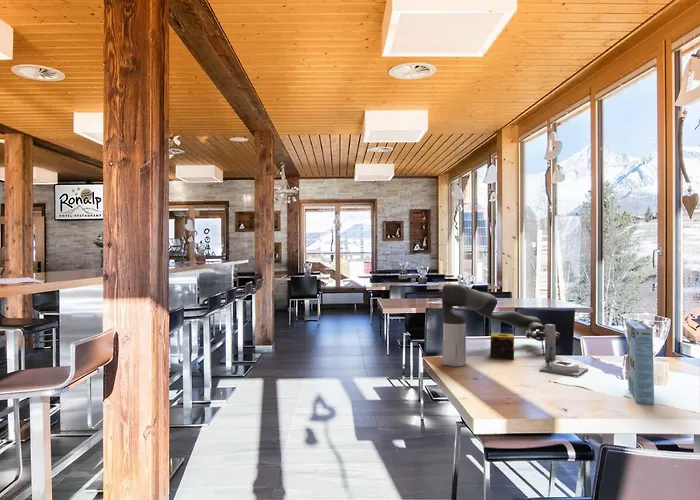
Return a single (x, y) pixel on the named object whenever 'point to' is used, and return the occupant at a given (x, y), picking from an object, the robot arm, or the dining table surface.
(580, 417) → the dining table surface
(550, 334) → the pin
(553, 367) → the collar
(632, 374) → the blue cardboard box
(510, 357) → the brown textured cube
